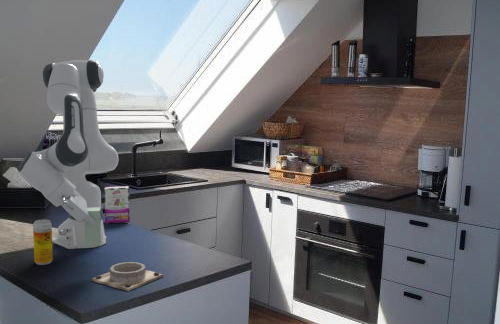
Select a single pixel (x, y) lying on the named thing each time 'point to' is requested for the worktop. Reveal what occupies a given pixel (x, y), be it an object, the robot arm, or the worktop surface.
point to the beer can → (42, 242)
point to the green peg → (93, 228)
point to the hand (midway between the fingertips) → (94, 221)
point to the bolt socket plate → (122, 285)
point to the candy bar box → (117, 204)
